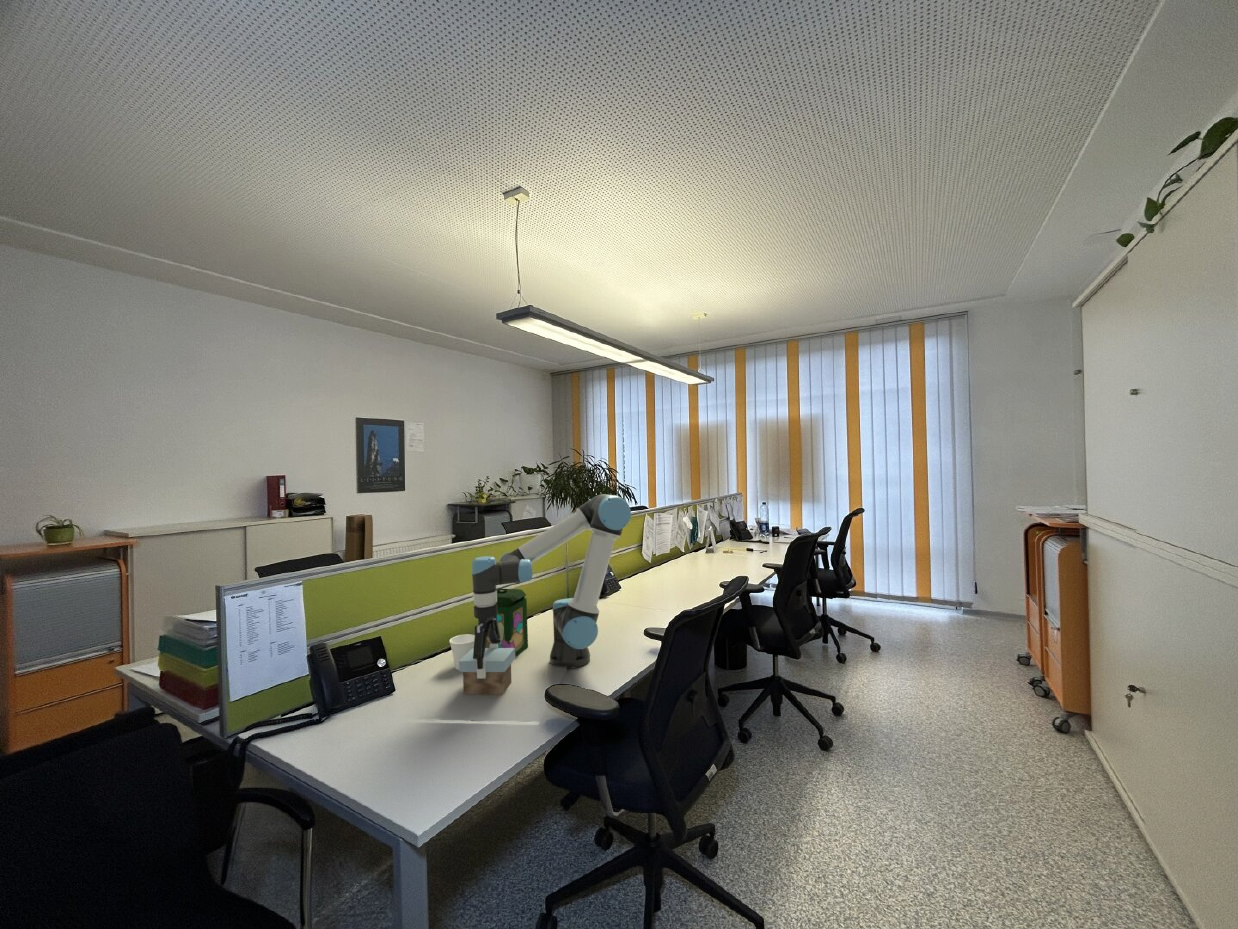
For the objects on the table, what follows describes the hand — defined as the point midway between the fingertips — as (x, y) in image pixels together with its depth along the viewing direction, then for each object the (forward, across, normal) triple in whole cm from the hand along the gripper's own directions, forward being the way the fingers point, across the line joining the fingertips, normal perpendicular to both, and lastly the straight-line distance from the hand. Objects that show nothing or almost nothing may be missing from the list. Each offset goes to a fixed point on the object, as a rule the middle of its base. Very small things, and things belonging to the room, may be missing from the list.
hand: (488, 670), depth 163 cm
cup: (+7, -17, -16) cm, 24 cm away
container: (+7, -33, -6) cm, 34 cm away
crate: (+7, 0, 0) cm, 7 cm away
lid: (-2, 0, 0) cm, 2 cm away
